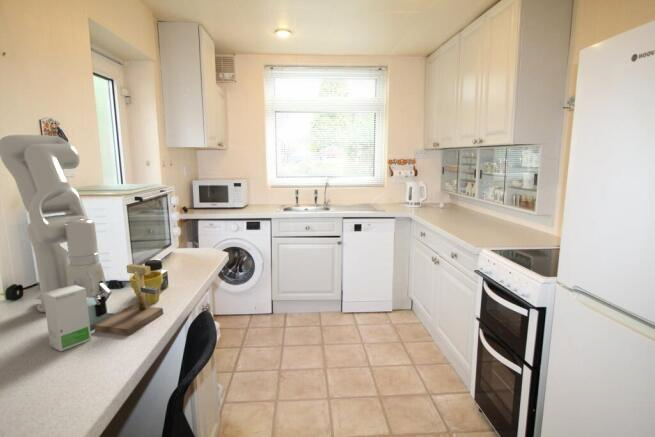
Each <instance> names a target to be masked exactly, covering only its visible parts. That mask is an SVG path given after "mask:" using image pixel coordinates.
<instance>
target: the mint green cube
mask: <svg viewBox="0 0 655 437" xmlns="http://www.w3.org/2000/svg"><path fill="white" fill-rule="evenodd" d="M99 300H100V298H99ZM95 305H96V302H95V300H94V298H87V306H88V315H89V323H90V325H94V324H96V323H98V322H99V321H101V320H103V319H105V318H107V317H108V313H109V312H108V307H107V301H106V302H105V305H106V314H104V315H102V316H100V317H97V316H96V309H95Z"/></svg>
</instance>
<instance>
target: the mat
mask: <svg viewBox="0 0 655 437" xmlns="http://www.w3.org/2000/svg"><path fill="white" fill-rule="evenodd" d="M107 313H108V317H110V316H112V315H114V314H115V313H113V312H107ZM108 317H107V318H108ZM107 318H105V319H107ZM105 319H103V320H105ZM103 320H101V321H103ZM101 321H99V322H101ZM99 322H98V323H99ZM96 324H97V323H96ZM94 325H95V324H94ZM94 325H90V332H92V331H93V330H95V326H94Z"/></svg>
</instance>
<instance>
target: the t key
mask: <svg viewBox="0 0 655 437" xmlns="http://www.w3.org/2000/svg"><path fill="white" fill-rule="evenodd" d="M126 273H127V274H133V275H134V274H135V281H136V290H137V297H136V299H138V300H137V306H138V309H139V310H143V309H146V308H147V307H148V306H147V305H146V296H145V293H149V294H158V293H159V288H154V287H148V286H144V277H143V275H145V276H146V275H148V274H151V271H150V266H145V265H143V264H134V263H130V264H127V265H126Z"/></svg>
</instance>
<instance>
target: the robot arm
mask: <svg viewBox="0 0 655 437" xmlns="http://www.w3.org/2000/svg"><path fill="white" fill-rule="evenodd" d="M0 160H1V162H2V163H3V165H4V167H5V168H6V169H7V171H8V172H9V173H10V175H11V176H12V177H13V179H14V182H15V183H16V187H17V189H18V192H19V196H20V197H21V201H22V203H23V206H24V209H25V211H26V212H27V213H28V218H29V221H30V222H29V223H28V224H27V228H26V229H27V235H28V237H29V239H30V243H31V245H32V249H33V252H34V257H35V263H36V270H37V276H38V282H39V288H40V292H39V295H36V296H35V299H36V300H40V303H39V304H38V305H37V311H38V312H40V313H44V314H46V310H45V302H44V296H43V293H44V292H48V291H52V290H56V289H59V288H64V287H69V286H73V285H77V286H80V287H83V288H85V290H86V298H87V299H89V298H94V300H95V302H96V305H95V309H96V316H97V317H100V316H102V315H104V314H106V305H107V304H106V305H105V302H106V303H107V301H108V299H109V297H110V296H111V294H112V293H113V292H112V291H111V289H110V288H108V287H107V284H106V278H105V273H104V270H103V267H102V263H101V262H100V256H99V255H100V254H99V246H98V240H97V239H98V238H97V233H96V224H95V222H94V220H93V219H90V218H89V217H88V216H87V213H86V210H85V208H84V204H83V201H82V198H81V196H80V194H79V192H78V190H76V189H75V188H74V187H73V186H71V185H70V183H69V181H68V177H67V176H66V173H65V171H64V170H74V169H76V168H78V166H79V165H80V155H79V153H78V150H77V149H76V147H75V146H74V145H73V144H71V142H68V141H67V140H65V139H64V138H62V137H60V136H59V135H58V136H56V135H43V134H41V135H40V134H9V135H6V136H3V137H1V138H0ZM62 213H64V214H62ZM52 214H55V215H52ZM46 215H48V216H46ZM64 243H66V244H67V249H65V248H64V247H62V246H61V244H64ZM99 297H100V298H99ZM99 299H100V300H99Z"/></svg>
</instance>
